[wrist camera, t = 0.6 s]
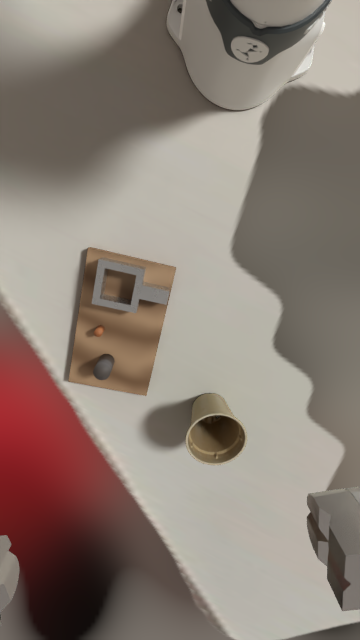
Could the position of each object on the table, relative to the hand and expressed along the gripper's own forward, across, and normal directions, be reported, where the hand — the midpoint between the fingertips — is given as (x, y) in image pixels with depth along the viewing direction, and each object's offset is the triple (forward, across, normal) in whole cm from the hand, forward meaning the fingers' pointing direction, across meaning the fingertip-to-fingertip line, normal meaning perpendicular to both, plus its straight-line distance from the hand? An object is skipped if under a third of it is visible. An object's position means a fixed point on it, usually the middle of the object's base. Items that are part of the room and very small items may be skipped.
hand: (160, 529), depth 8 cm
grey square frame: (+38, +5, 0) cm, 39 cm away
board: (+40, +8, +6) cm, 41 cm away
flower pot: (+40, -5, +24) cm, 47 cm away
